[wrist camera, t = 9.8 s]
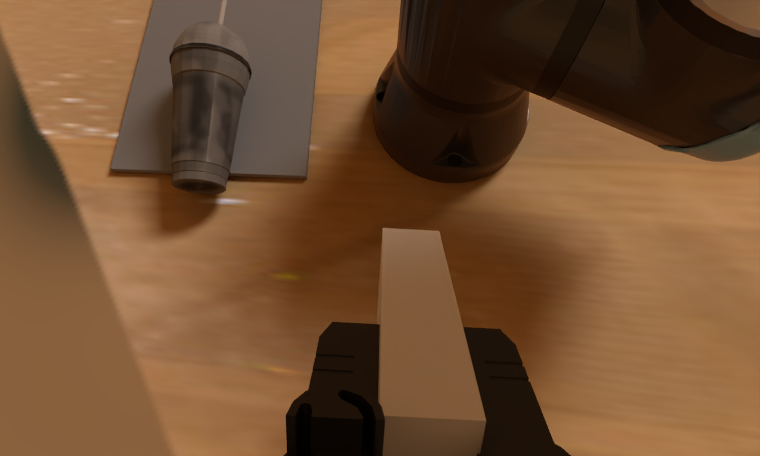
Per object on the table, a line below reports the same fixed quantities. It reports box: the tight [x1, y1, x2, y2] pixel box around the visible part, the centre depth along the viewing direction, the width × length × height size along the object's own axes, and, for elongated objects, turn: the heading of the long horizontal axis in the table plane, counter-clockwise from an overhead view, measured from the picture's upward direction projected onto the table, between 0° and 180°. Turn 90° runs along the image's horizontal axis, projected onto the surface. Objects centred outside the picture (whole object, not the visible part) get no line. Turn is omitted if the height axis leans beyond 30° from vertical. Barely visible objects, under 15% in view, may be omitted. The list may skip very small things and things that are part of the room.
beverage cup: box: [169, 0, 252, 194], centre depth 45 cm, size 7×7×20 cm
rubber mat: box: [110, 0, 322, 179], centre depth 51 cm, size 28×18×1 cm, turn 179°
